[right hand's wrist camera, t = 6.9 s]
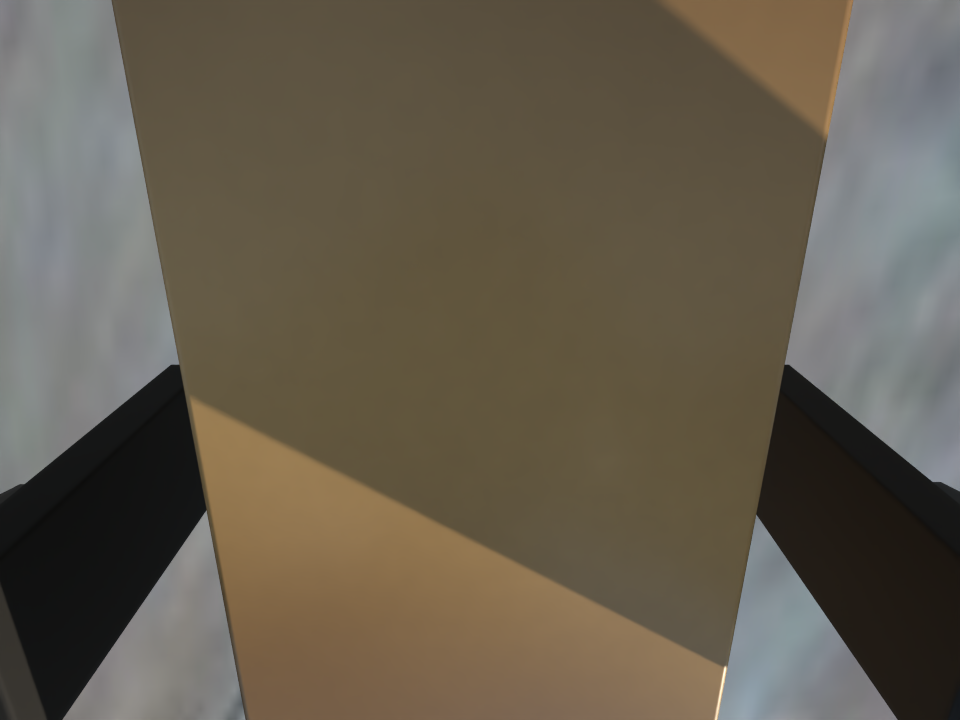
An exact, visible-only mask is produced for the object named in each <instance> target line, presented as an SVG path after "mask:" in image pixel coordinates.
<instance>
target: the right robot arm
mask: <svg viewBox="0 0 960 720" xmlns="http://www.w3.org/2000/svg"><path fill="white" fill-rule="evenodd" d="M206 510H207V509H206V504H205V499H204V493H203V488H202V482H201V477H200V472H199V466H198V461H197V456H196V450H195V445H194V440H193V434H192V429H191V423H190V418H189V413H188V407H187V402H186V397H185V391H184V386H183V380H182V375H181V370H180V365H170V366H169V367H168V368H167V369H165V370H164V371H163V372H162V373H160V374H159V375H158V376H157V377H156V378H154V379H153V380H152V381H151V382H149V383H148V384H147V385H146V386H145V387H143V388H142V389H141V390H140V391H138V392H137V393H136V394H135V395H133V396H132V397H131V398H130V399H129V400H127V401H126V402H125V403H124V404H122V405H121V406H120V407H119V408H118V409H116V410H115V411H114V412H113V413H111V414H110V415H109V416H108V417H107V418H105V419H104V420H103V421H102V422H100V423H99V424H98V425H97V426H96V427H94V428H93V429H92V430H91V431H89V432H88V433H87V434H86V435H84V436H83V437H82V438H81V439H80V440H78V441H77V442H76V443H75V444H73V445H72V446H71V447H70V448H69V449H67V450H66V451H65V452H64V453H62V454H61V455H60V456H59V457H58V458H56V459H55V460H54V461H53V462H51V463H50V464H49V465H48V466H46V467H45V468H44V469H43V470H42V471H40V472H39V473H38V474H37V475H35V476H34V477H33V478H32V479H31V480H29V481H28V482H27V483H26V484H20V485H18V486H16V487H14V488H12V489H10V490H8V491H6V492H4V493H2V494H0V720H62V719H63V718H64V716H65V715H66V713H67V712H68V711H69V709H70V708H71V706H72V705H73V703H74V702H75V700H76V699H77V698H78V696H79V695H80V693H81V692H82V690H83V689H84V687H85V686H86V684H87V683H88V682H89V680H90V679H91V677H92V676H93V674H94V673H95V671H96V670H97V668H98V667H99V666H100V664H101V663H102V661H103V660H104V658H105V657H106V655H107V654H108V652H109V651H110V650H111V648H112V647H113V645H114V644H115V642H116V641H117V639H118V638H119V636H120V635H121V634H122V632H123V631H124V629H125V628H126V626H127V625H128V623H129V622H130V621H131V619H132V618H133V616H134V615H135V613H136V612H137V610H138V609H139V607H140V606H141V605H142V603H143V602H144V600H145V599H146V597H147V596H148V594H149V593H150V591H151V590H152V589H153V587H154V586H155V584H156V583H157V581H158V580H159V578H160V577H161V575H162V574H163V573H164V571H165V570H166V568H167V567H168V565H169V564H170V562H171V561H172V559H173V558H174V557H175V555H176V554H177V552H178V551H179V549H180V548H181V546H182V545H183V544H184V542H185V541H186V539H187V538H188V536H189V535H190V533H191V532H192V530H193V529H194V528H195V526H196V525H197V523H198V522H199V520H200V519H201V517H202V516H203V514H204V513H205V512H206ZM756 514H757V516H758V517H759V519H760V520H761V522H762V523H763V525H764V526H765V528H766V529H767V530H768V532H769V533H770V535H771V536H772V538H773V539H774V541H775V542H776V544H777V545H778V546H779V548H780V549H781V551H782V552H783V554H784V555H785V557H786V558H787V560H788V561H789V562H790V564H791V565H792V567H793V568H794V570H795V571H796V573H797V574H798V575H799V577H800V578H801V580H802V581H803V583H804V584H805V586H806V587H807V589H808V590H809V591H810V593H811V594H812V596H813V597H814V599H815V600H816V602H817V603H818V605H819V606H820V607H821V609H822V610H823V612H824V613H825V615H826V616H827V618H828V619H829V621H830V622H831V623H832V625H833V626H834V628H835V629H836V631H837V632H838V634H839V635H840V637H841V638H842V639H843V641H844V642H845V644H846V645H847V647H848V648H849V650H850V651H851V652H852V654H853V655H854V657H855V658H856V660H857V661H858V663H859V664H860V666H861V667H862V668H863V670H864V671H865V673H866V674H867V676H868V677H869V679H870V680H871V682H872V683H873V684H874V686H875V687H876V689H877V690H878V692H879V693H880V695H881V696H882V698H883V699H884V700H885V702H886V703H887V705H888V706H889V708H890V709H891V711H892V712H893V714H894V715H895V716H896V718H897V719H898V720H960V492H959V491H957V490H955V489H953V488H951V487H949V486H947V485H946V484H944V483H942V482H932V481H931V480H929V479H928V478H927V477H926V476H925V475H923V474H922V473H921V472H920V471H918V470H917V469H916V468H915V467H913V466H912V465H911V464H910V463H909V462H907V461H906V460H905V459H904V458H902V457H901V456H900V455H899V454H898V453H896V452H895V451H894V450H893V449H891V448H890V447H889V446H888V445H887V444H885V443H884V442H883V441H882V440H880V439H879V438H878V437H877V436H876V435H874V434H873V433H872V432H871V431H869V430H868V429H867V428H866V427H864V426H863V425H862V424H861V423H860V422H858V421H857V420H856V419H855V418H853V417H852V416H851V415H850V414H849V413H847V412H846V411H845V410H844V409H842V408H841V407H840V406H839V405H838V404H836V403H835V402H834V401H833V400H831V399H830V398H829V397H828V396H826V395H825V394H824V393H823V392H822V391H820V390H819V389H818V388H817V387H815V386H814V385H813V384H812V383H811V382H809V381H808V380H807V379H806V378H804V377H803V376H802V375H801V374H800V373H798V372H797V371H796V370H795V369H793V368H792V367H791V366H790V365H784V370H783V375H782V380H781V386H780V391H779V396H778V401H777V407H776V412H775V417H774V423H773V428H772V433H771V439H770V444H769V449H768V454H767V460H766V465H765V470H764V476H763V481H762V486H761V492H760V497H759V502H758V507H757V513H756Z"/></svg>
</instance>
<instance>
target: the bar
mask: <svg viewBox="0 0 960 720" xmlns="http://www.w3.org/2000/svg"><path fill="white" fill-rule="evenodd" d="M852 4H853V0H112V5H113V10H114V16H115V21H116V26H117V32H118V37H119V43H120V48H121V53H122V59H123V64H124V69H125V75H126V80H127V85H128V91H129V96H130V102H131V107H132V112H133V118H134V123H135V128H136V134H137V139H138V144H139V150H140V155H141V161H142V166H143V171H144V177H145V182H146V187H147V193H148V198H149V203H150V209H151V214H152V220H153V225H154V230H155V236H156V241H157V246H158V252H159V257H160V262H161V268H162V273H163V279H164V284H165V289H166V295H167V300H168V305H169V311H170V316H171V321H172V327H173V332H174V338H175V343H176V348H177V354H178V359H179V364H180V370H181V375H182V380H183V386H184V391H185V397H186V402H187V407H188V413H189V418H190V423H191V429H192V434H193V440H194V445H195V450H196V456H197V461H198V466H199V472H200V477H201V482H202V488H203V493H204V499H205V504H206V509H207V515H208V520H209V525H210V531H211V536H212V541H213V547H214V552H215V558H216V563H217V568H218V574H219V579H220V584H221V590H222V595H223V600H224V606H225V611H226V617H227V622H228V627H229V633H230V638H231V643H232V649H233V654H234V659H235V665H236V670H237V676H238V681H239V686H240V692H241V697H242V702H243V708H244V713H245V718H246V720H717V719H718V714H719V709H720V703H721V698H722V693H723V688H724V682H725V677H726V672H727V666H728V661H729V656H730V650H731V645H732V640H733V635H734V629H735V624H736V619H737V613H738V608H739V603H740V598H741V592H742V587H743V582H744V576H745V571H746V566H747V560H748V555H749V550H750V545H751V539H752V534H753V529H754V523H755V518H756V513H757V507H758V502H759V497H760V492H761V486H762V481H763V476H764V470H765V465H766V460H767V454H768V449H769V444H770V439H771V433H772V428H773V423H774V417H775V412H776V407H777V401H778V396H779V391H780V386H781V380H782V375H783V370H784V364H785V359H786V354H787V348H788V343H789V338H790V333H791V327H792V322H793V317H794V311H795V306H796V301H797V296H798V290H799V285H800V280H801V274H802V269H803V264H804V258H805V253H806V248H807V243H808V237H809V232H810V227H811V221H812V216H813V211H814V205H815V200H816V195H817V190H818V184H819V179H820V174H821V168H822V163H823V158H824V152H825V147H826V142H827V137H828V131H829V126H830V121H831V115H832V110H833V105H834V99H835V94H836V89H837V84H838V78H839V73H840V68H841V62H842V57H843V52H844V47H845V41H846V36H847V31H848V25H849V20H850V15H851V9H852Z"/></svg>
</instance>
